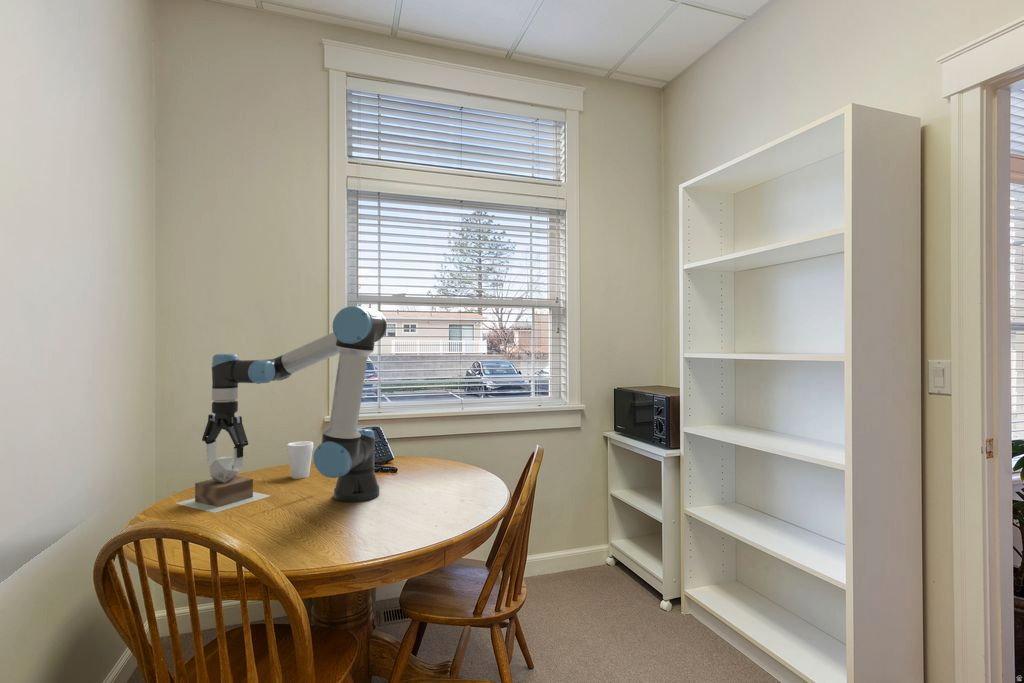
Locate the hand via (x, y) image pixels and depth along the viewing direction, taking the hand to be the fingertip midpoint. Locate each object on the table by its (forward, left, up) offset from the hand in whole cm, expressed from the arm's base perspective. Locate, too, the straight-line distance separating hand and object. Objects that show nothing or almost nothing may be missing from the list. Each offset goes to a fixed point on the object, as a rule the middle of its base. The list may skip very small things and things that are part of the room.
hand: (224, 465), depth 172 cm
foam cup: (+5, -35, -12) cm, 37 cm away
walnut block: (0, 0, -11) cm, 11 cm away
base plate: (0, 0, -12) cm, 12 cm away
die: (0, 0, -5) cm, 5 cm away
